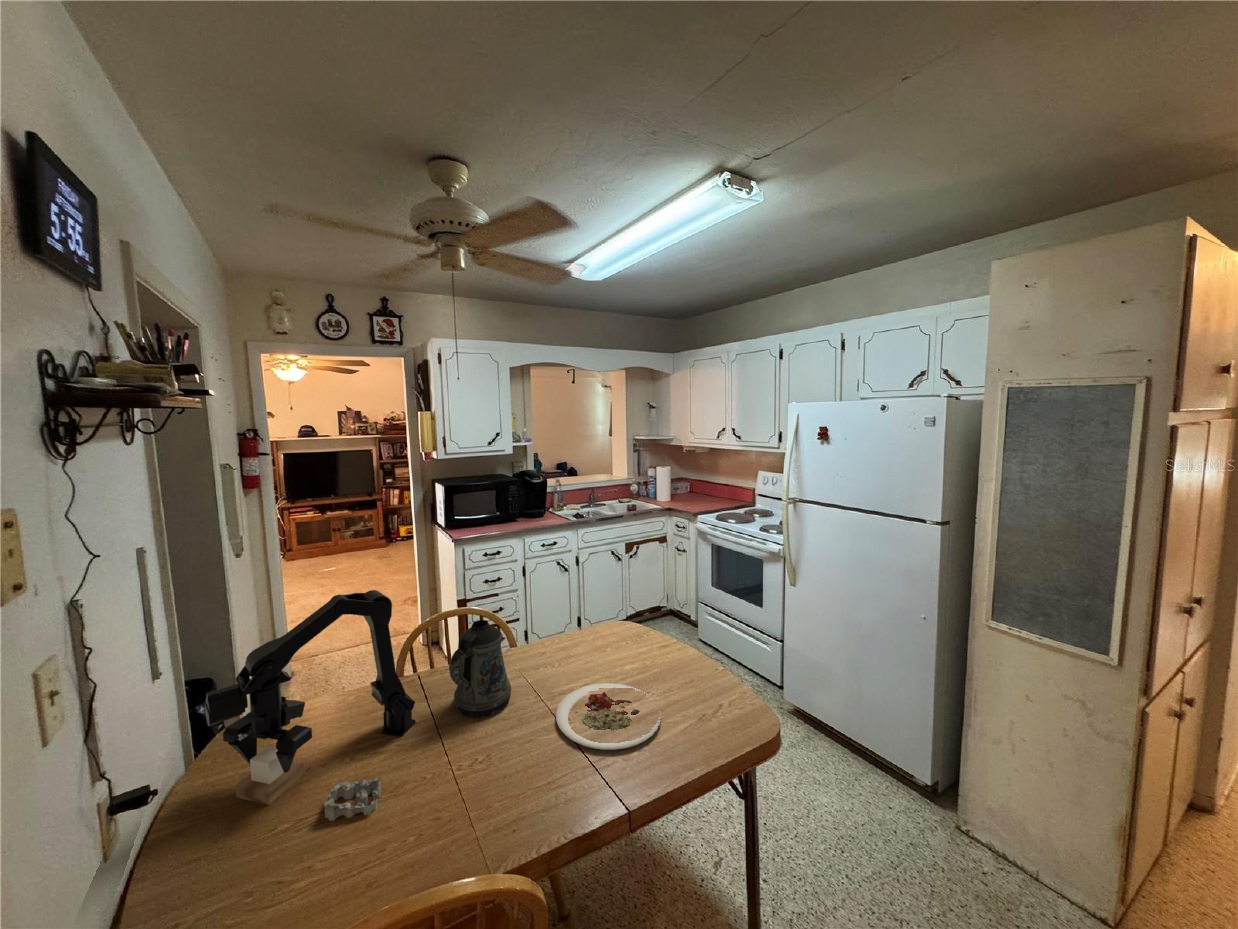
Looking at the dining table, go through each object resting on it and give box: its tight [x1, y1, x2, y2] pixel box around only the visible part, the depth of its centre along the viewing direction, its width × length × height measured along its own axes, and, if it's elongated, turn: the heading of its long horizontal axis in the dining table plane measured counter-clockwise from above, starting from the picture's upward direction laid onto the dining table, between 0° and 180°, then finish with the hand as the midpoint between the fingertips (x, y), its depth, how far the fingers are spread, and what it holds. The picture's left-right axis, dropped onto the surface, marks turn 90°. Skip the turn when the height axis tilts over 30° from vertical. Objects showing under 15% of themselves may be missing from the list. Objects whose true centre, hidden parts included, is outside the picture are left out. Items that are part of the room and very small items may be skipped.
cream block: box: [249, 744, 284, 784], centre depth 112 cm, size 5×5×5 cm
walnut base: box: [235, 761, 305, 806], centre depth 112 cm, size 9×9×3 cm
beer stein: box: [448, 619, 512, 719], centre depth 143 cm, size 16×19×25 cm
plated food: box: [555, 682, 662, 751], centre depth 140 cm, size 30×30×3 cm
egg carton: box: [322, 776, 382, 822], centre depth 107 cm, size 11×8×4 cm
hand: (270, 768), depth 112 cm, fingers open, 9 cm apart
